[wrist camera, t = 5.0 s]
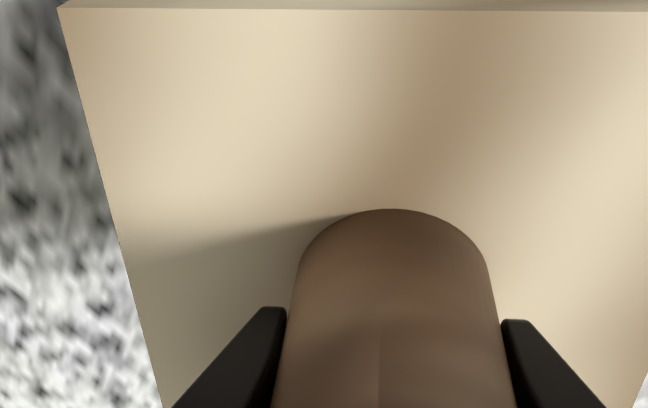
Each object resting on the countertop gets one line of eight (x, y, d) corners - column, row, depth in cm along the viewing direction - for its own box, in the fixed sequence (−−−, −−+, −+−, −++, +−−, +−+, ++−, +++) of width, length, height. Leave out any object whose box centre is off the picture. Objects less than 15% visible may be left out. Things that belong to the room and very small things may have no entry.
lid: (767, -3, 8) (1309, 258, 3) (595, 436, 14) (707, 772, 9) (80, -7, 9) (-271, 195, 4) (180, 407, 15) (77, 699, 10)
